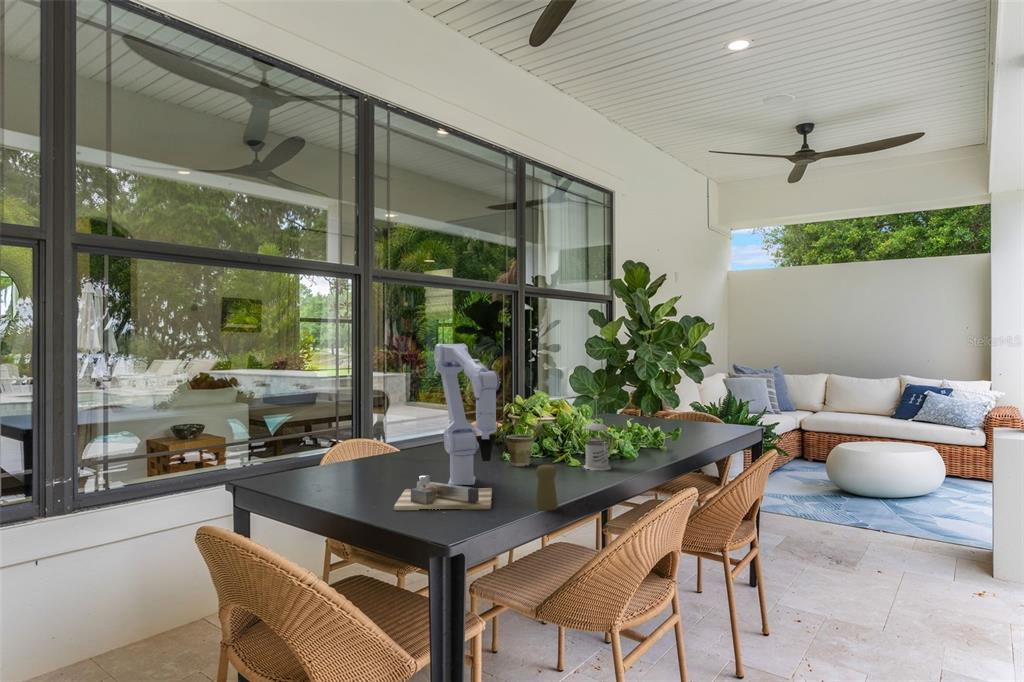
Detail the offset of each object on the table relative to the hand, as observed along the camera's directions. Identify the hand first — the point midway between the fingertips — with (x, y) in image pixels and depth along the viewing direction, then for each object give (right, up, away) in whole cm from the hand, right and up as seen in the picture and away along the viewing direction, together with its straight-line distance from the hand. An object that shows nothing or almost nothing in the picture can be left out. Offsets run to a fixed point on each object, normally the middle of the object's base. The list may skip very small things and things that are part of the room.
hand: (486, 460), depth 174 cm
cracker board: (-11, -9, -8) cm, 16 cm away
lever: (-10, -8, -10) cm, 16 cm away
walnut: (-15, -8, -11) cm, 20 cm away
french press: (+37, -10, +36) cm, 53 cm away
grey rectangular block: (-17, -8, -13) cm, 23 cm away
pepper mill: (+16, -9, -15) cm, 24 cm away
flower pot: (+10, -10, +44) cm, 46 cm away
